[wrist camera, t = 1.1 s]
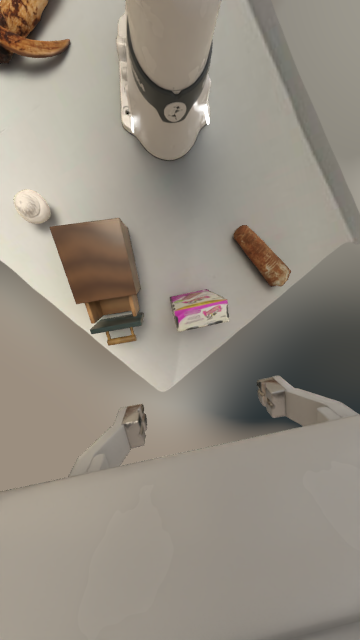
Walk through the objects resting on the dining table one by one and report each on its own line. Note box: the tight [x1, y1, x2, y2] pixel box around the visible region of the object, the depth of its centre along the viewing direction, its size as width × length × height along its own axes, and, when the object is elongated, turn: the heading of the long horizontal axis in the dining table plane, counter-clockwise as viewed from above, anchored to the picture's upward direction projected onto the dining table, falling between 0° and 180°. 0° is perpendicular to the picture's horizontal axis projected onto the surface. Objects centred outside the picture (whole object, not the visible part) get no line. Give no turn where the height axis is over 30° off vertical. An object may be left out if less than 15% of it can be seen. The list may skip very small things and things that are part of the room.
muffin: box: [13, 189, 51, 224], centre depth 36 cm, size 6×6×7 cm
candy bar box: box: [170, 289, 229, 332], centre depth 42 cm, size 11×5×16 cm, turn 101°
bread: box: [234, 225, 291, 286], centre depth 45 cm, size 6×19×6 cm, turn 45°
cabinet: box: [50, 218, 141, 304], centre depth 39 cm, size 15×13×10 cm
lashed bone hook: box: [0, 0, 70, 64], centre depth 29 cm, size 9×5×18 cm
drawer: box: [85, 295, 144, 345], centre depth 43 cm, size 18×12×8 cm, turn 8°
